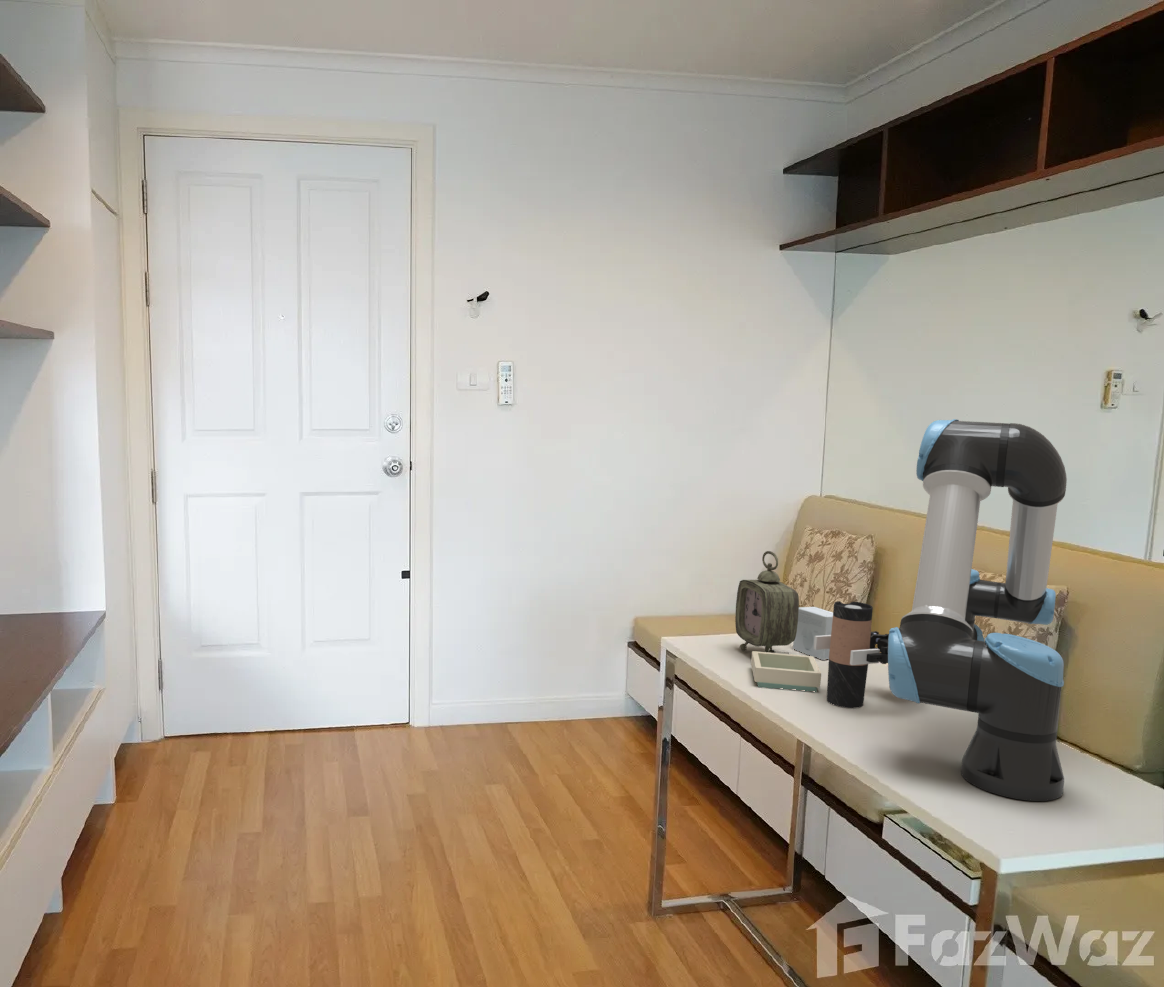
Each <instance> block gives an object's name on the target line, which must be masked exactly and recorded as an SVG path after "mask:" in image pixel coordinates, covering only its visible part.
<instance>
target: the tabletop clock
mask: <svg viewBox="0 0 1164 987" xmlns="http://www.w3.org/2000/svg"><path fill="white" fill-rule="evenodd" d="M767 555H771V556H772V557H774V560H775V566H774V567H773V564H772V563H771V562H768V563H766V562H765V557H766V556H767ZM762 565H763V566H764V567H765V568H766V570H763V571H761V572H760V573H759V574H758V576H757V578H756V579H742V580H740V581H739V584H738V586H737V587H738V588H737V593H736V601H735V602H736V603H735V615H734V616H735V617H734V618H735V620H734V622H735V632H736V634H737V636H738V637H740V638H741V639H742V640H743V641H744V642H745V643H741V644H740V645H739V649H740V650H741V651H747V647H748V646H747V645H748V644H749V645H752V646H753V647H754V646H755V647H764V652H769V653H775V651H776V650H774V649H773V646H774V647H776V646H777V647H780V646H789V645H791V644H792V643H793V642H794V640H795V637H796V633H797V625H798V613H799V607H800V599H799V598H800V596H799V593H798V592H797V591H796V589H793V588H792V587H791V586H788V585H787V584H786V583H784V582H781V580H780V576H779V574H778V573H777V572H775V571H774V570H776V569H777V568H778V565H779V557H778V556H777V554H776V553H775V552H773V551H770V550H766V551H765V552H764V553H763V554H762Z"/></svg>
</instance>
